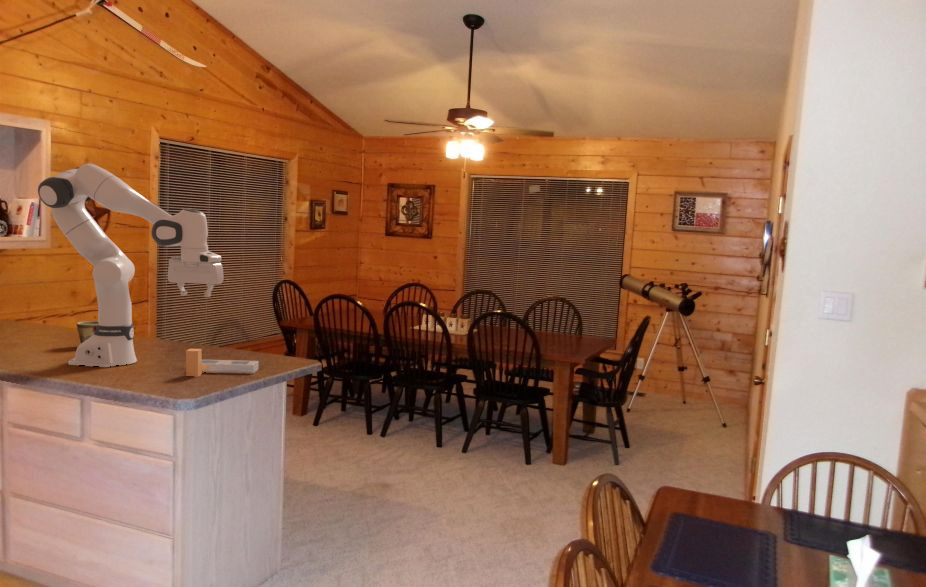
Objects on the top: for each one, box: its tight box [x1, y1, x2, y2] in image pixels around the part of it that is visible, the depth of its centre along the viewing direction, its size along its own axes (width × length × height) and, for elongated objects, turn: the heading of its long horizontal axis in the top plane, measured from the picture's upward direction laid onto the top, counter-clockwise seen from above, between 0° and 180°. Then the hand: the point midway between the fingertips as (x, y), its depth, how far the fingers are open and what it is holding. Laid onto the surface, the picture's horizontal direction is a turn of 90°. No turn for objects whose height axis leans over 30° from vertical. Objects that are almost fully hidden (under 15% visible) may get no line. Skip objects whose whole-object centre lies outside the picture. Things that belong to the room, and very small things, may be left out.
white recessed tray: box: [202, 359, 260, 375], centre depth 256 cm, size 22×8×3 cm, turn 93°
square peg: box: [185, 348, 203, 378], centre depth 247 cm, size 4×4×9 cm
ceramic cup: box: [76, 320, 98, 344], centre depth 292 cm, size 13×10×10 cm
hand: (195, 296), depth 249 cm, fingers open, 8 cm apart
